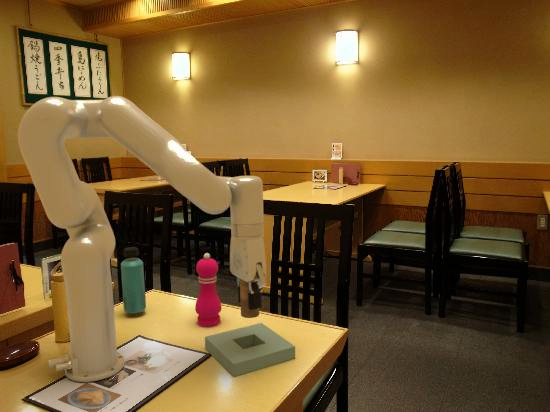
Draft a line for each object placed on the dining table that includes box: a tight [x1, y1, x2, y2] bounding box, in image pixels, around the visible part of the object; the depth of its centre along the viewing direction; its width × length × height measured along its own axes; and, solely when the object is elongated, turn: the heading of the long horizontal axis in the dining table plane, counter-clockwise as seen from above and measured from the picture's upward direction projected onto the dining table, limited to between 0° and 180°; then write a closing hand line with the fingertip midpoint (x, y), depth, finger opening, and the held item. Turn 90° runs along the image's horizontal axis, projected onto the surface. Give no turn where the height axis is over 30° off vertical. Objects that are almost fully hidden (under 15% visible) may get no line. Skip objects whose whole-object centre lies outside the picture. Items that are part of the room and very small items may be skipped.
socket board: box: [204, 322, 296, 378], centre depth 113 cm, size 16×16×3 cm
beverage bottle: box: [120, 246, 147, 314], centre depth 135 cm, size 6×7×20 cm
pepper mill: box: [194, 252, 222, 328], centre depth 129 cm, size 7×7×20 cm
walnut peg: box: [239, 277, 260, 319], centre depth 111 cm, size 4×4×9 cm
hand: (249, 304), depth 111 cm, fingers closed on walnut peg, 4 cm apart
